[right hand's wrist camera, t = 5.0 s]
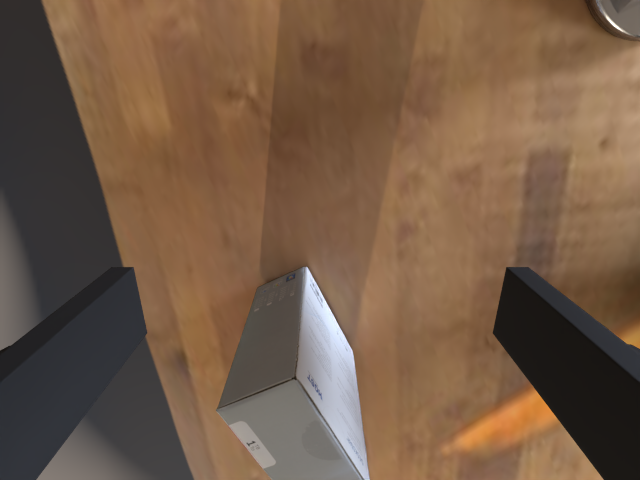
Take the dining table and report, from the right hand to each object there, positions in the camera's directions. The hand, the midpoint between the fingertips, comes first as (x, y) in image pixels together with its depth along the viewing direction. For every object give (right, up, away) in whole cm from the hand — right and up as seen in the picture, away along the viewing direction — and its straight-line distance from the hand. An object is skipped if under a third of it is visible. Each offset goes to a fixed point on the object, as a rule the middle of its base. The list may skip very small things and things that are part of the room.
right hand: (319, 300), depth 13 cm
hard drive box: (-2, -9, +36) cm, 37 cm away
